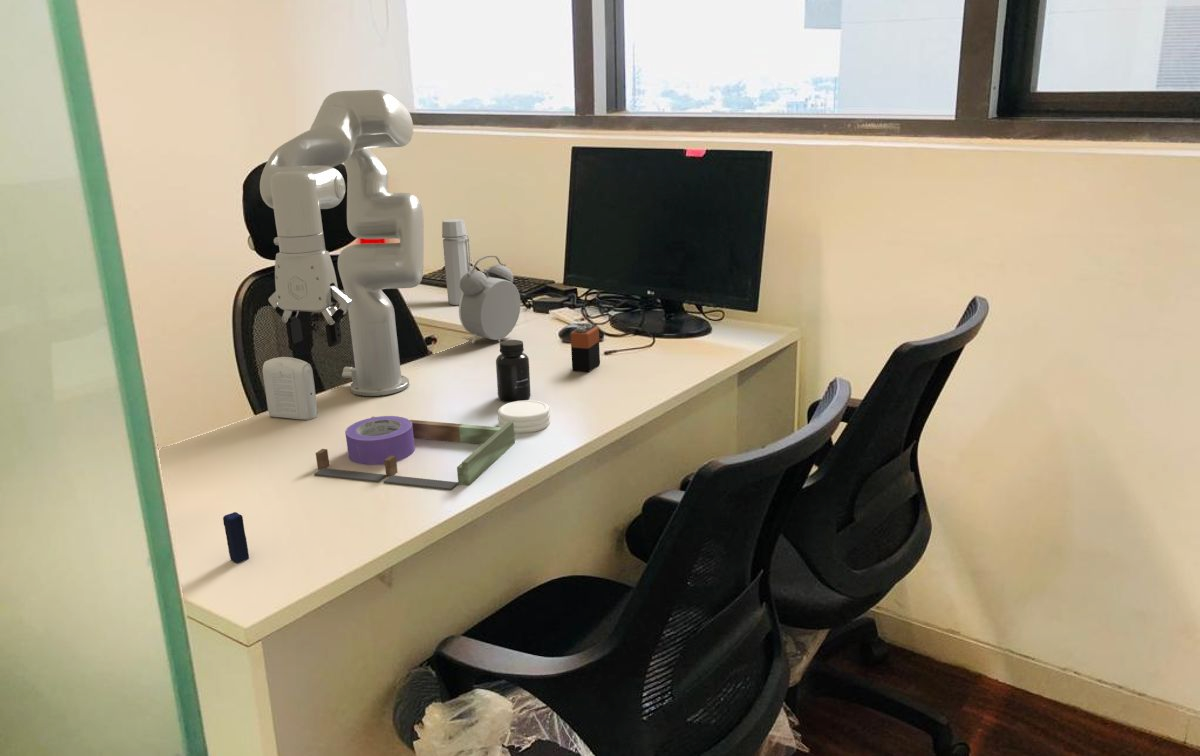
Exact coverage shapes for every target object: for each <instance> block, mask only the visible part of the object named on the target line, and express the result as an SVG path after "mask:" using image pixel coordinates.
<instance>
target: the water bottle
mask: <svg viewBox="0 0 1200 756" xmlns="http://www.w3.org/2000/svg"><path fill="white" fill-rule="evenodd" d="M441 222H442V224H441V233H442V234H441V237H442V247H443V257H444V259H443V260H444V269H445V280H446V281H445V282H446V293H447V301H448V304H449V305H452V306H456V307H459V302H460V299H461V295H462V293H463V292H462V290H461V288H460V281H461V279H462V277H463V276H464V275H465V274H466V273H468V272H470V271H472V269H473V268H474V265H475V263H474V260H473V253H472V249H471V243H470V240H471V236H469V235H467V228H466V223H465V219H463V218H449V219H444V220H442V221H441ZM471 266H472V268H471ZM474 271H476V269H475V270H474Z"/></svg>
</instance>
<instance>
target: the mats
mask: <svg viewBox="0 0 1200 756" xmlns="http://www.w3.org/2000/svg"><path fill="white" fill-rule="evenodd" d="M314 476H315V477H316V476H319V477H327V478H337V479H345V480H352V481H353V480H354V481H364V482H365V481H366V482H373V483H380V482H381V481H382V480H383V483H384V484H389V485H401V486H411V487H416V488H417V487H418V488H419V487H420V488H427V489H428V488H429V489H435V490H436V489H438V490H444V491H445V490H446V491H453V490H454V489H455V488H456V487H457V486H458V485H459V484H458V481H449V480H437V479H430V478H423V477H421V478H419V477H413V476H401V475H391V476H390V477H388V476H386V474H385V473H384V474H383V473H374V472H372V473H371V472H364V471H354V470H343V469H335V468H328V467H326V468H322V469H318V470H317V471H316V472H314ZM386 477H387V478H386ZM384 479H385V480H384Z"/></svg>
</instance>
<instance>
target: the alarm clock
mask: <svg viewBox="0 0 1200 756" xmlns="http://www.w3.org/2000/svg"><path fill="white" fill-rule="evenodd" d="M487 258H495V260H497V261H498V264H493V265H491V266H489V267H488V268H484V269H483V272H482V271H480V270H476V268H477V265H478V263H480V262H481V261H482V260H484V259H487ZM474 270H475V271H474ZM484 272H486V273H484ZM513 282H514V274H513V272H512V271H511V269H510V268H508V267H507V263H502V262H501V260H500V258H499V257H498V255H485V256H482V257H481V258H479V259H478V260H476V262H475V263H474V268H473V267H472V269H471V271H470V272H468V273H466V274H465V275H464V276H463V277H462V279H461V281H460V288H461V290H462V292H463V293H462V295H461V299H460V302H459V305H458V316H459V320H460V323H461V326H462V327H463V329H464V330H465V331H467V332H468V333H469V334H472V341H471V342H472V344H475V342H476V340H477V338H478V337H481V338H482V337H483V338H484V339H486V338H487V339H489V340H494V341H498V342H499V343H500V342H501V340H502V339H504V338H506V337H507V336H508V335H510V333H511V332H512V331H513V329H514V328H515V326H516V325H517V322H518V320H519V317H520V314H521V305H522V304H521V295H520V293H519V290H518V288H517V286H516V285H515V284H514V283H513Z"/></svg>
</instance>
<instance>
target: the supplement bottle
mask: <svg viewBox="0 0 1200 756" xmlns="http://www.w3.org/2000/svg"><path fill="white" fill-rule="evenodd" d="M524 351H525V350H524V342H523V340H519V339H508V340H507V339H506V340H502V341H500V342H499V352H500V354H499V355H498V356H497V357H496V358H495V369H496V370H495V371H496V384H497V386H496V387H497V397H498V399H499V400H500V401H501V402H505V403H511V402H515V401H523V400H528V399H530V397H531V377H530V376H531V375H530V359H529V356H528V355H527V354H526V353H524Z"/></svg>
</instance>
